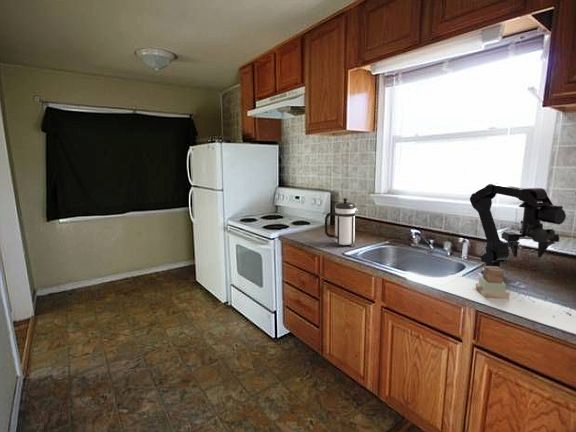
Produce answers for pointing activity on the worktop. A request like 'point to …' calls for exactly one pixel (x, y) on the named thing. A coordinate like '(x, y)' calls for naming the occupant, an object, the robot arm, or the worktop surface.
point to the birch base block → (492, 292)
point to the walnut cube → (493, 274)
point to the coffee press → (343, 223)
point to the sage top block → (491, 285)
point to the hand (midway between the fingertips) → (527, 257)
